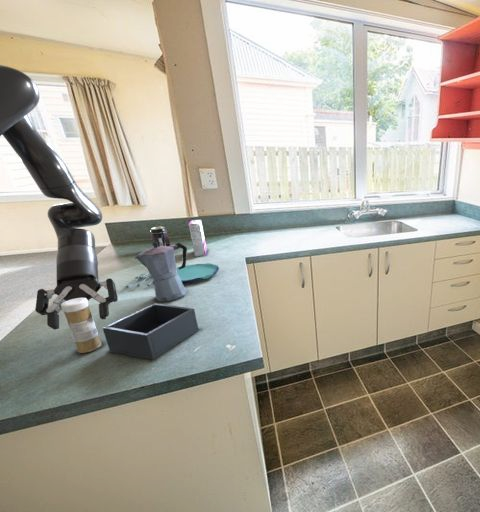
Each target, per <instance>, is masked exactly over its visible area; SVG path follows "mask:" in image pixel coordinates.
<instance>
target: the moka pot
mask: <svg viewBox="0 0 480 512" xmlns="http://www.w3.org/2000/svg"><path fill="white" fill-rule="evenodd" d="M151 245H152V246H153V247H151V248H148V249H145V250H142V251H140V253H137V254H136V256H135V257H134V259H135V260H137V261H138V262H140V264H142V265H143V266H144V267H145V268H146V270H147V271H148V273H150V275H151V276H152V277H151V279H153V282H152V283H151V284H153V286H154V287H153V288H154V293H155V299H156V301H157V302H161V303H162V302H171V301H174V300H175V301H176V300H178V299H180V298H182V297H184V296H185V295H186V294H187V290H186V288H185V286H184V284H183V282H182V281H181V279H180V277H179V276H178V274H177V267H178V269H179V270H180V269H183V268H185V265H186V264H187V252H188V247H187V246H185V245H184V244H182V243H181V242H177V243H174V244H170V246H161V247H158V243H156V242H154V243H153V242H152V243H151ZM179 249H182V263H181V266H177V263H176V262H177V261H176V256H175V251H177V250H179Z"/></svg>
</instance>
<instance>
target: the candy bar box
mask: <svg viewBox="0 0 480 512" xmlns="http://www.w3.org/2000/svg"><path fill="white" fill-rule="evenodd" d="M187 225H188V226H187V227H188V230H189V235H190V239H191V240H190V241H191V245H192V249H193V253H194V257H203V256H206V255H207V251H208V248H207V242H206V237H205V231H204V227H203V223H202V219H193V220H190V221H189V223H188V224H187Z"/></svg>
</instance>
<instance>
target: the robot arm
mask: <svg viewBox="0 0 480 512" xmlns="http://www.w3.org/2000/svg"><path fill="white" fill-rule="evenodd" d="M39 103H40V90H39V88H38V85H37V84H36V82H35V81H34V80H33V79H32V78H31V77H30V76H29V75H27V74H26V73H24V72H23V71H21V70H18V69H16V68H13V67H11V66H7V65H3V64H0V137H1V136H3V138H4V139H5V140H6V141H7V143H8V144H9V145H10V147H11V148H12V150H13V151H14V152H15V153H16V155H17V157H18V158H19V159H20V161H21V163H22V164H23V165H24V167H25V168H26V171H28V173H29V174H30V176H31V178H32V179H33V181H34V182H35V184H36V185H37V187H38V189H39V190H40V192H41V193H42V195H44V196H45V197H46V198H49V199H58V200H59V199H60V200H66V201H69V202H66V203H59V204H58V203H57V204H54V205H52V206H50V208H49V209H47V218H48V220H49V222H50V224H51V226H52V228H53V230H54V233H55V235H56V239H57V254H56V259H55V260H56V286H55V288H54V289H46V290H45V289H44V288H39V289H38V290H37V292H36V300H35V309H34V311H35V312H36V313H38V314H39V315H41V316H46V325H47V326H48V327H49V328H51V329H52V330H59V329H60V314H59V313H60V312H61V311H62V308H61V304H62V303H63V302H65V301H68V300H71V299H75V298H86V299H87V300H88V302H89V301H90V300H91V299H93V300H94V301H96V302H97V303H98V315H99V319H101V320H107V317H109V315H110V309H109V306H110V304H111V303H116V302H118V301H119V298H118V293H117V288H116V283H115V281H114V280H113V279H112V278H106V280H103V281H100V280H99V261H98V256H97V252H96V240H95V235H94V233H93V232H92V231H90V230H88V229H85V228H86V227H93V226H97V225H99V224H100V223H101V222H102V221H103V212H102V211H101V209H100V207H99V206H98V205H97V204H96V203H95V202H94V201H93V200H92V199H91V198H90V197H89V196H88V195H87V194H86V193H85V192H84V191H83V190H82V188H80V187H79V185H78V184H77V182H76V180H75V179H74V177H73V175H72V173H71V172H70V169H69V168H68V166H67V164H66V163H65V162H64V160H63V159H62V158H61V157H60V156H59V154H58V153H57V152H56V151H55V150H54V149H53V148H52V147H51V145H50V144H49V143H48V142H47V141H46V140H45V139H44V138H43V136H42V135H41V133H39V131H38V130H37V129H36V127H35V126H34V124H33V123H32V121H31V119H30V117H29V116H28V115H29V113H31V112H33V110H34V109H35V108H36V107H37V106H38V104H39ZM83 228H84V229H83ZM102 287H103V288H104V289H105V290H107V294H108V296H107V297H104V296H103V295H101V294H100V293H98V292H99V291H100V290H101V288H102ZM54 295H57V297H56V298H54V299H53V301H52V303H51V305H49V302H50V300H51V299H52V298H53V296H54Z"/></svg>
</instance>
